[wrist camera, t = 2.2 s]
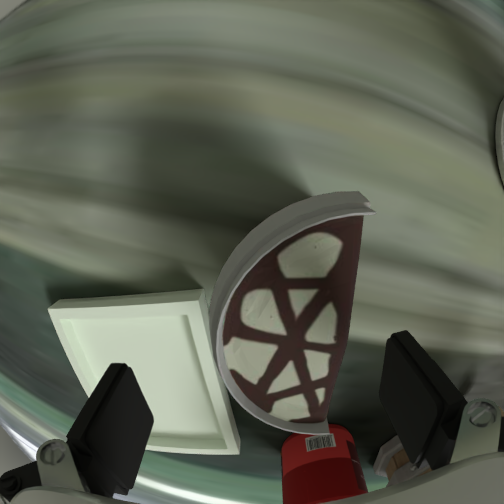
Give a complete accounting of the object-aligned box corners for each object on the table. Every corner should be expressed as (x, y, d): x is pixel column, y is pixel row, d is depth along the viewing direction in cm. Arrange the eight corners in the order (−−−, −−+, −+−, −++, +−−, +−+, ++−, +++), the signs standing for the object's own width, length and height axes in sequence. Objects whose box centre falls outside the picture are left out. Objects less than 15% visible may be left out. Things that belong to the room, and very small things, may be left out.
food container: (227, 177, 19) (194, 188, 9) (320, 181, 19) (377, 196, 9) (227, 340, 22) (210, 439, 13) (305, 341, 22) (327, 439, 13)
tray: (203, 288, 21) (198, 300, 19) (240, 440, 26) (239, 454, 24) (59, 299, 22) (47, 308, 20) (124, 433, 27) (118, 445, 25)
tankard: (402, 473, 30) (427, 546, 15) (357, 460, 28) (380, 556, 13) (505, 387, 25) (554, 452, 11) (483, 353, 23) (554, 437, 9)
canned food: (265, 447, 27) (265, 532, 16) (320, 411, 25) (339, 506, 14) (312, 466, 28) (321, 539, 17) (364, 434, 26) (388, 512, 15)
